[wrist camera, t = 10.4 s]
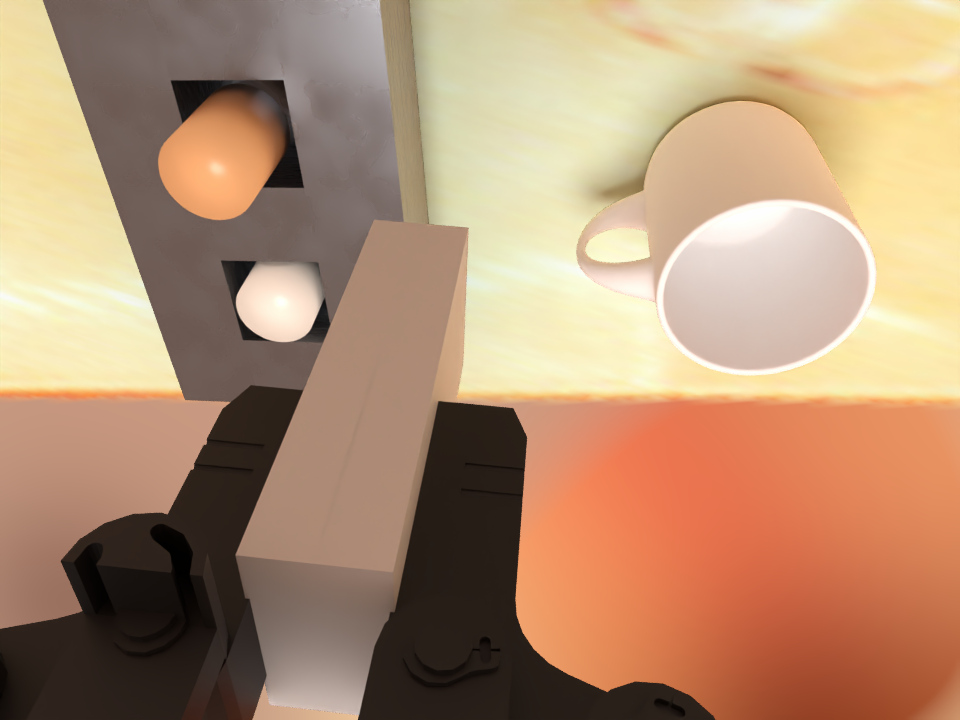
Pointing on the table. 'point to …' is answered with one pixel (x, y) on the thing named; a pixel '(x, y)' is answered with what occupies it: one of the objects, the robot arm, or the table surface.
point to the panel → (292, 185)
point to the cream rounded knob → (281, 299)
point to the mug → (742, 243)
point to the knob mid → (225, 152)
